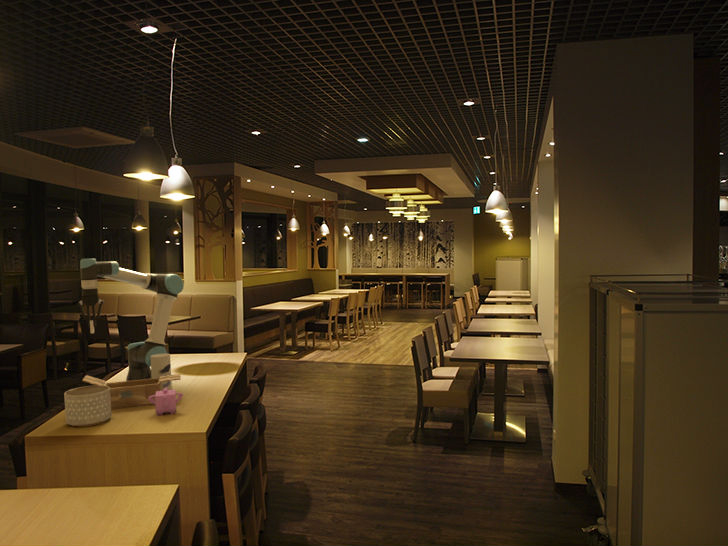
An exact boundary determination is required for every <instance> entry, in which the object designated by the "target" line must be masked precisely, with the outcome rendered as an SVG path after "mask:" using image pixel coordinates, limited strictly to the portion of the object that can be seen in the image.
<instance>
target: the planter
mask: <svg viewBox="0 0 728 546" xmlns="http://www.w3.org/2000/svg"><path fill="white" fill-rule="evenodd" d="M63 395H64V397H63V398H64V411H65V412H64V413H65V423H66V424H67V425H69V426H71V425H74V426H86V427H92V426H91V425H93V426H96V425H100V424H103V423H105V422H107V421H108V420H109V419H110V418H111V417H112V409H111V397H110V387H109V386H105V385H104V386H103V385H86V386H80V387H75V388H71V389H68V390H66V391H65V392H64V393H63ZM74 426H73V427H74Z"/></svg>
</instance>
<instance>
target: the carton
mask: <svg viewBox="0 0 728 546" xmlns="http://www.w3.org/2000/svg"><path fill="white" fill-rule="evenodd" d="M159 381H160V378H154V379H144V380H133V381H126V380H123V381H115V382H106V383H105V385H104V386H109V387H110V397H111V410H113V409H114V410H115V409H123V408H133V407H142V406H149V405H150V406H152V405H154V404H153V403H151V402H150V401H149V400H148V397H150V396H152V395H156V391H161V382H159ZM152 400H153V401H154V402H155V397H153V398H152Z"/></svg>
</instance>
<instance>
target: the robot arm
mask: <svg viewBox="0 0 728 546" xmlns="http://www.w3.org/2000/svg"><path fill="white" fill-rule="evenodd" d="M79 265H80V267H79V268H80V280H81V282H80V283H81V288H82V289H81V296H82V298H80V299H81V300H80V301H78V302H76V305H77V306H78V307H79V310H80V312H81V313H80V314H81V316H82V319H83V321H87V327H88V328H89V329H90V334H95V327H97V320H99V319H100V316H101V312H102V307H103V304H104V303H105V300H103V299H101V298H100V297H99V289H98V288H97V287H98V277H99V278H104V279H109V280H113V281H117V282H120V283H124V284H129V285H130V284H131V285H134V286H137V287H140V288H142V289H143V290H147V291H151V292H154V293H156V296H157V302H156V306H155V311H154V314H153V318H152V323H151V326H150V327H151V328H150V331H149V334H148V338H147V339H146V340H144V341H139V342H133V343H129V344H128V345H127V360H128V361H127V362H128V372H127V375H126V379H125V381H133V380H144V379H152V376H151V357H150V356H151V355H155V354H163V353H166V354H168V352H167V350H166V345H167V344H166V343H165V338H166V333H167V330H168V327H169V326H168V325H169V321H170V318H171V317H170V316H171V313H172V308H173V305H174V301H175V300H177V299H178V297H179V296H178V295H179V294H181V292H182V291H183V290H184V286H185V285H184V280H183V278H182V277H181V276H180V275H178V274H176V273H150V272H145V273H142V272H138V271H134V270H131V269H127V268H126V269H125V268H122V267H120V264H119V263H118V262H117V260H116V261H114V260H110V261H107V260H106V261H97V259H96V258H82V259H80V264H79ZM83 304H84V305H85V306H86V312H85V309H84V307H83ZM97 304H99V305H98V308H97V309H98V310H97V312H96V305H97ZM91 309H92V310H91ZM91 312H92V320H91ZM96 313H97V314H96Z"/></svg>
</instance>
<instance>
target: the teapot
mask: <svg viewBox="0 0 728 546" xmlns="http://www.w3.org/2000/svg"><path fill="white" fill-rule="evenodd" d="M176 395H178V397H176ZM183 396H184V395H183V393H182V392H176V389H172V390H168V389H167V388H165V389H164V390H163V391H156V395H152V396H150V397H148V400H149V401H150V402H151V403H153V404H152V405H155V414H157V416H162V415H163V414H164V413H165V414H166V413H169V414H170V415H174V414H175V412H176V411H177V403H178V402H179V401H180V400H181V399H182V398H183ZM153 397H155V402H154V401H153V400H152V398H153Z"/></svg>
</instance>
